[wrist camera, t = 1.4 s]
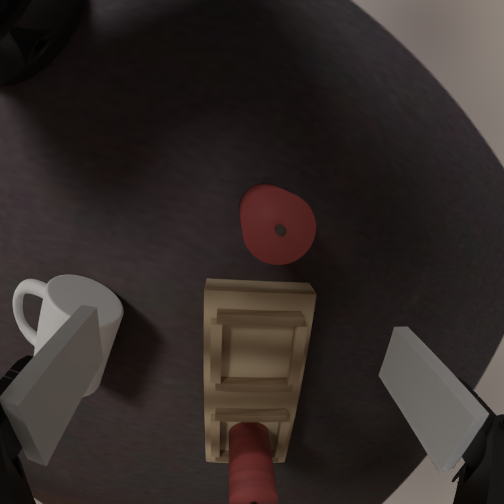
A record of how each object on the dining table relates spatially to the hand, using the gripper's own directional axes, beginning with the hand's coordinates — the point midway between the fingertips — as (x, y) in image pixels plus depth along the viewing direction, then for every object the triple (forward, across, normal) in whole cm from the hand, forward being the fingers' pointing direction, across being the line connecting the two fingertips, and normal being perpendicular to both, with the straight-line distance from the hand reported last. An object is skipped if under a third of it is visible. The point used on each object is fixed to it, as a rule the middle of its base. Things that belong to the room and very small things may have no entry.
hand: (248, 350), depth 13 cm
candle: (+18, +2, +4) cm, 18 cm away
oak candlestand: (+18, +3, -15) cm, 23 cm away
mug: (+18, -18, -9) cm, 27 cm away
